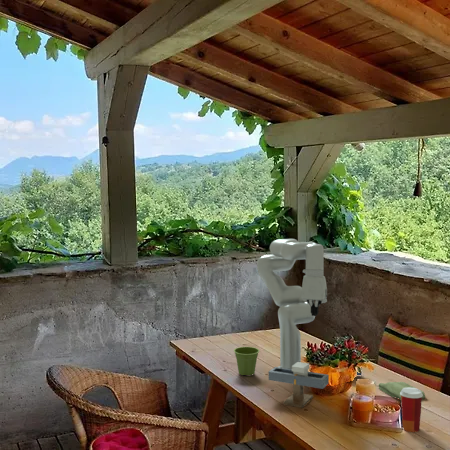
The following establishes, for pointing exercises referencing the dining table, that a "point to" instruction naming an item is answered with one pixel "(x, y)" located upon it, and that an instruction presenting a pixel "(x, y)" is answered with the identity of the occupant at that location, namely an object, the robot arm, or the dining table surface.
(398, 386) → the washcloth
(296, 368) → the rider
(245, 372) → the plant pot
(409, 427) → the paper cup
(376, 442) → the dining table surface
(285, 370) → the balance beam
